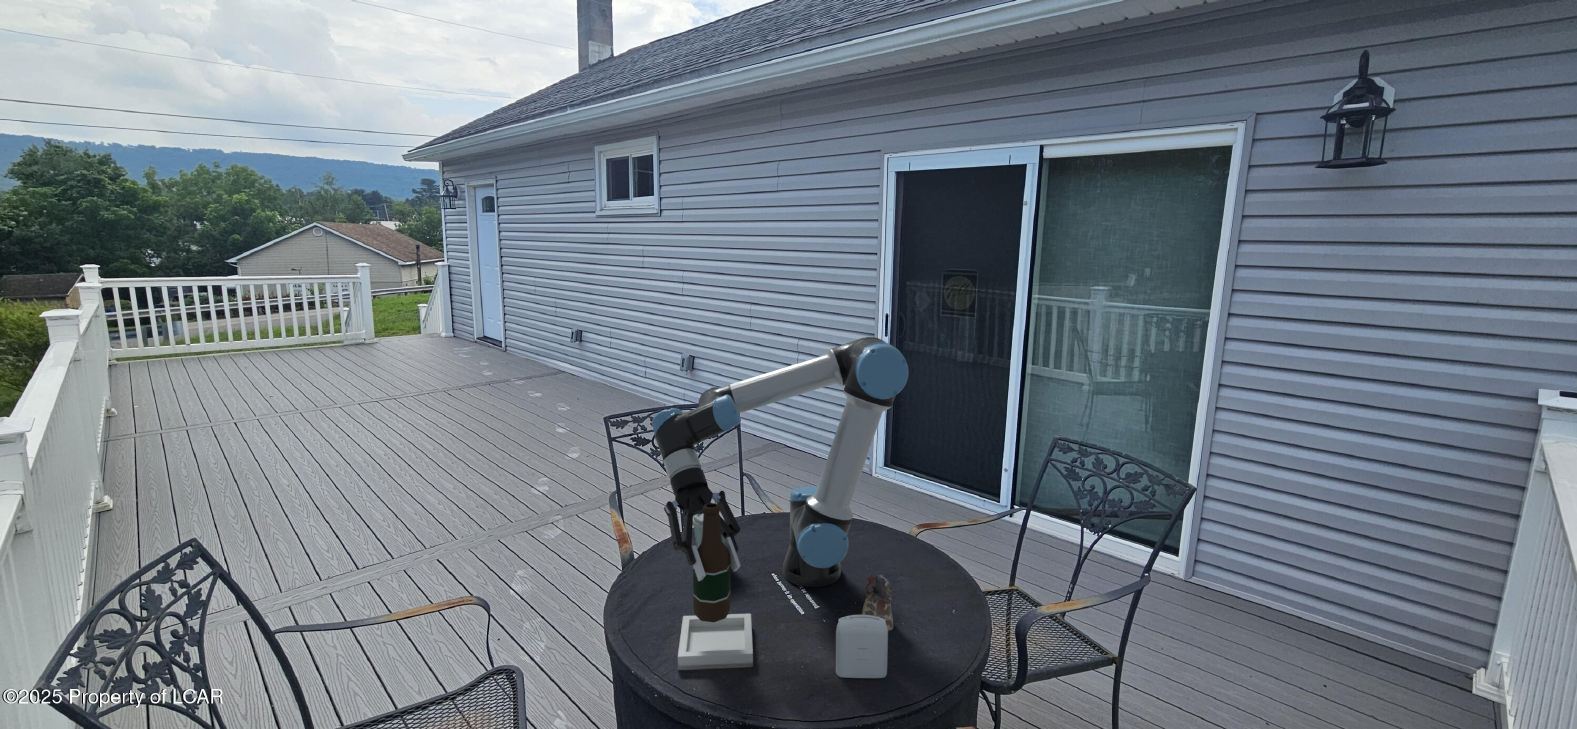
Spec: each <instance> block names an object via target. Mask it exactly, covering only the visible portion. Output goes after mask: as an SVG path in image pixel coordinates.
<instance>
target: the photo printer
mask: <svg viewBox="0 0 1577 729" xmlns="http://www.w3.org/2000/svg"><path fill="white" fill-rule="evenodd" d="M837 622H838V623H837V625H836V629H835V674H836V675H837V676H838V677H839V678H848V679H849V678H850V679H851V678H852V679H884V678H886V676H887V674H888V650H889V649H888V647H889V645H888V643H889V642H888V641H889V631H888V628H887V625H886V622H885V619H883V618H880V617H876V616H871V615H862V614H851V615H847V616H846V615H845V616H843V617H840V618H838V621H837Z"/></svg>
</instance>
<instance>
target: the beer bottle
mask: <svg viewBox="0 0 1577 729" xmlns="http://www.w3.org/2000/svg"><path fill="white" fill-rule="evenodd" d="M720 510H721V509H720V506H719V505H718V504H717V503H715V502H711V503H708V504H705V505H704V506H703V509H702V511H703V512H704V514H703V533H702V541H701V544H700V546H699V547H698V548H697V550H698V553H699V556H700V559H701V562H702V565H703V568H704V571H705V574H706V576H705V577H704V578H703V580H701V581H698V578H697V575H696V572H695V569H694V566H693V565H692V581H693V582H692V583H693V584H692V587H693V588H692V589H693V591H692V592H693V596H692V597H693V614H694V616H697V617H698V618H699V619H700V620H701V621H706V622H717V621H720V620H723V619H725V618H726V617H727V615H728V614H729V612H730V611H731V602H732V600H731V598H732V597H731V596H732V595H731V592H732V591H731V583H732V582H731V581H732V579H731V576H732V574H731V564H730V554H729V552H728V549H727V547H726V546H725V545H724V543H723V542H722V538H721V531H720V517H719V511H720Z"/></svg>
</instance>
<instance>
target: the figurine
mask: <svg viewBox="0 0 1577 729" xmlns="http://www.w3.org/2000/svg"><path fill="white" fill-rule="evenodd" d="M866 579H867V580H868V583H867V584H866V586H865V596H866V598H865V600H864V603H863V607H862V612H861V615H871V616H876V617H880V618H883V619H885V622H886V625H887V628H888V632H890V631H892V630H893V629H894V617H893V612H892V606H891V605H892V604H891V601H892V592H894V590H893V588H892V587H891V585H890V582H889V580H888V579H887V578H885V576H884V575H883V574H877V575H876V576H875V578H874V577H873V576H872V574H868V575H866ZM869 589H871V591H869Z"/></svg>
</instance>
